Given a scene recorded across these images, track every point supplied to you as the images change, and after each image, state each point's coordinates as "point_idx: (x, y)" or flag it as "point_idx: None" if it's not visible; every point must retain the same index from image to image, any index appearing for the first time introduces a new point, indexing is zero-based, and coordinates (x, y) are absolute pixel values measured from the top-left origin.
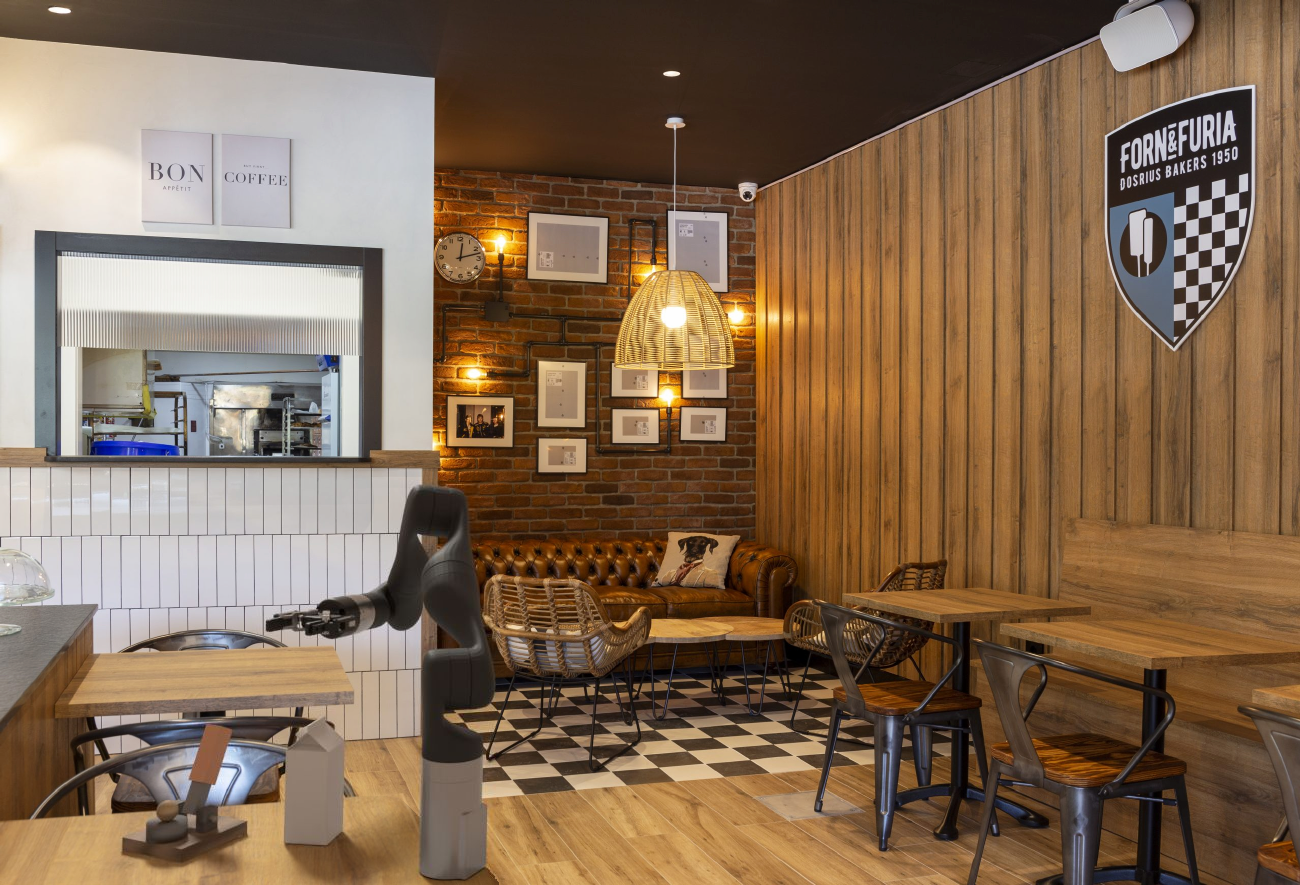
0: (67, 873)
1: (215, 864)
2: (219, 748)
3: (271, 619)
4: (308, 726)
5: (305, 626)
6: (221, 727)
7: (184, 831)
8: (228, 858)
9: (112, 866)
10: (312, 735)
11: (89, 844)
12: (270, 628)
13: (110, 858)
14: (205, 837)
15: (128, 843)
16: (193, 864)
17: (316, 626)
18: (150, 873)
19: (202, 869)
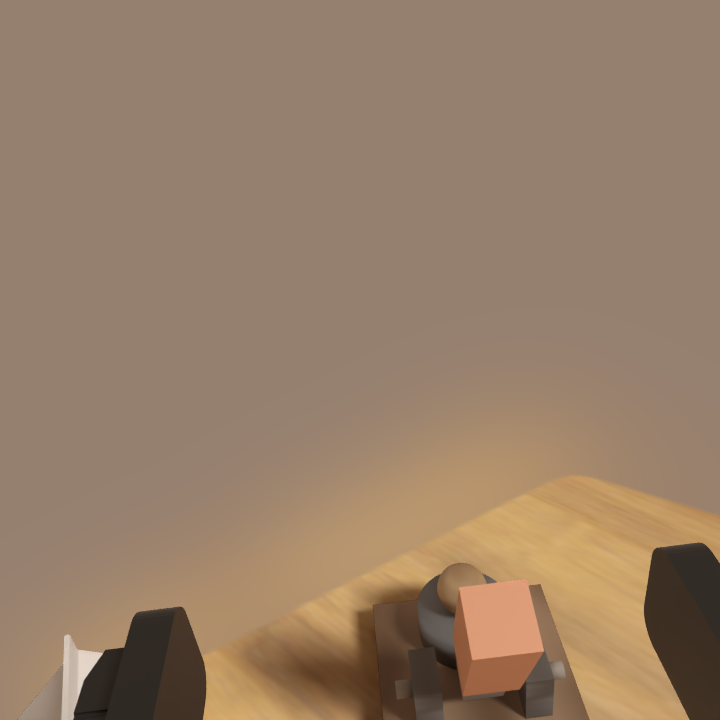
0: (503, 508)
1: (306, 652)
2: (461, 637)
3: (672, 564)
4: (65, 638)
5: (184, 617)
6: (459, 594)
7: (421, 632)
8: (305, 687)
9: (471, 555)
10: (62, 671)
11: (629, 589)
12: (656, 620)
13: (514, 572)
14: (386, 672)
15: None
16: (347, 631)
17: (86, 701)
18: (382, 569)
19: (310, 624)
